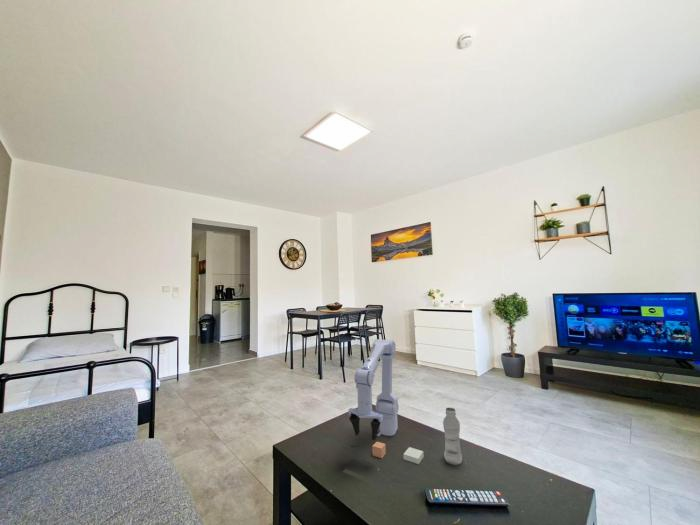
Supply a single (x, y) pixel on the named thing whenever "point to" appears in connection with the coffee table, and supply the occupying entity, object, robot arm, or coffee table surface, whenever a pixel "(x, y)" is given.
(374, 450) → the block
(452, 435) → the plastic bottle
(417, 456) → the top slab
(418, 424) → the coffee table surface
